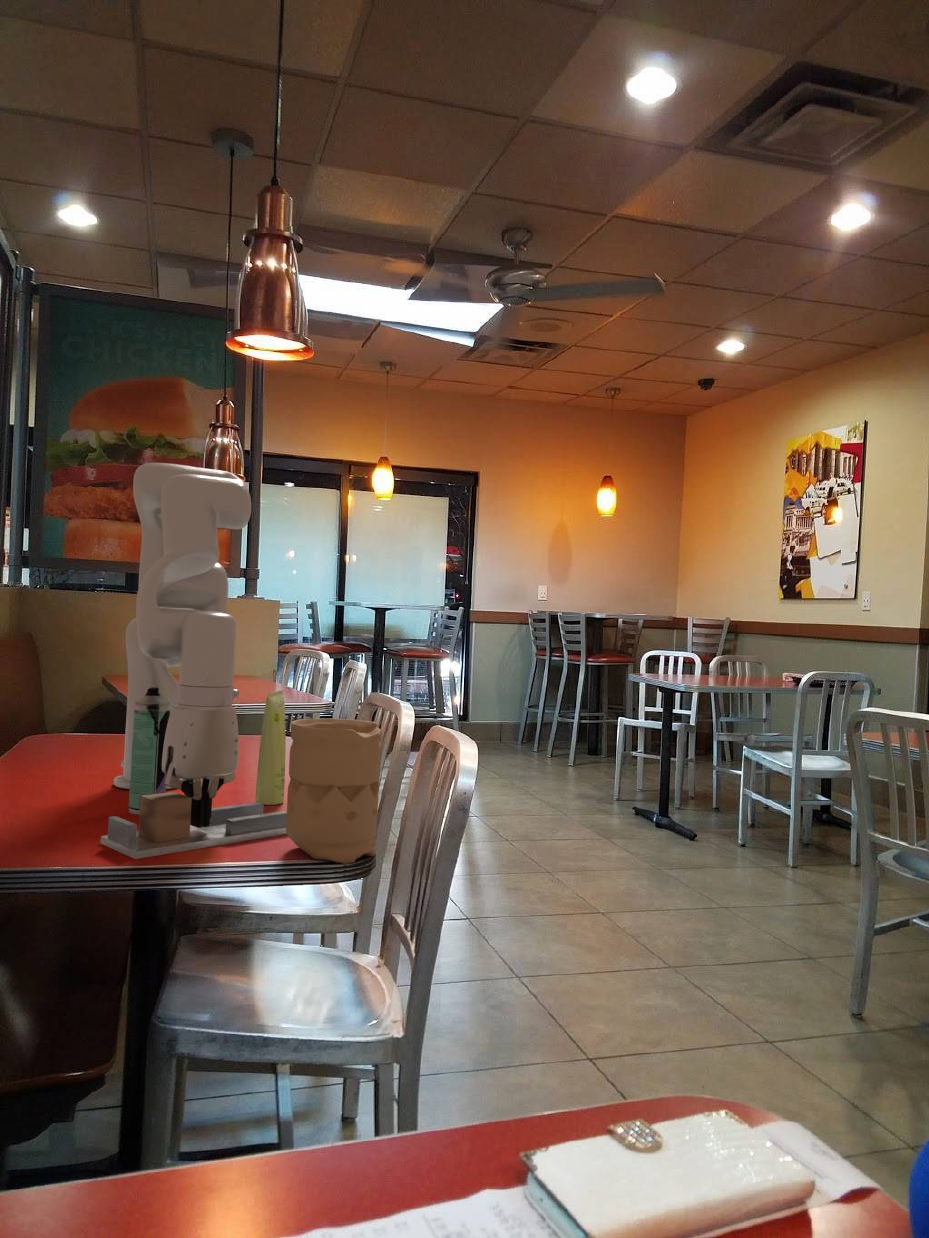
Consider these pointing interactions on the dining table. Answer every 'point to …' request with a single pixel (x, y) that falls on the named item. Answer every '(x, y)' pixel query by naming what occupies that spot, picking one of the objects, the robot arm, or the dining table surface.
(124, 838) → the chute
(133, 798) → the spray can
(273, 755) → the tube
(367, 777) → the container
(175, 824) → the block
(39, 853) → the dining table surface
